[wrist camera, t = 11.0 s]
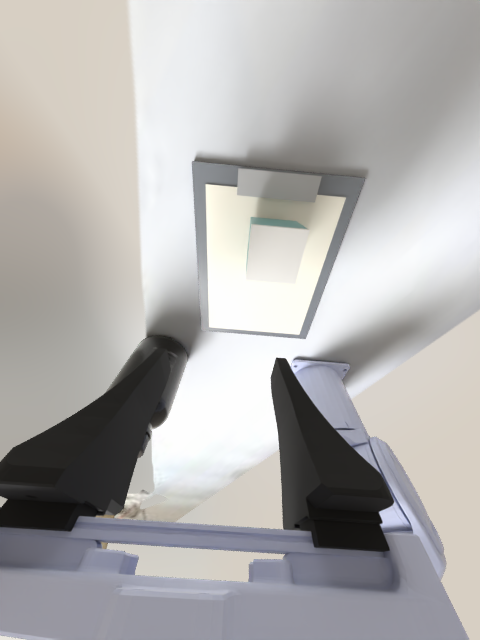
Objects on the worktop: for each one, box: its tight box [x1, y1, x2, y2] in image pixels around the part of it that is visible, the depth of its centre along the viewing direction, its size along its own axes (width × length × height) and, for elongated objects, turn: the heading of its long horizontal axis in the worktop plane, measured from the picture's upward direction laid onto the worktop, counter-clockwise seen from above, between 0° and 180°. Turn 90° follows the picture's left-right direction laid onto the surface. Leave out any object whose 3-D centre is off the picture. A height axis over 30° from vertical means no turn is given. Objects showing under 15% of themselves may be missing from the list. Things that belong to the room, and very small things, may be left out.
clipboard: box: [192, 161, 365, 339], centre depth 18 cm, size 16×13×1 cm
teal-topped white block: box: [246, 217, 310, 284], centre depth 14 cm, size 4×4×5 cm
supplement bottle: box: [106, 336, 187, 458], centre depth 21 cm, size 7×7×12 cm
